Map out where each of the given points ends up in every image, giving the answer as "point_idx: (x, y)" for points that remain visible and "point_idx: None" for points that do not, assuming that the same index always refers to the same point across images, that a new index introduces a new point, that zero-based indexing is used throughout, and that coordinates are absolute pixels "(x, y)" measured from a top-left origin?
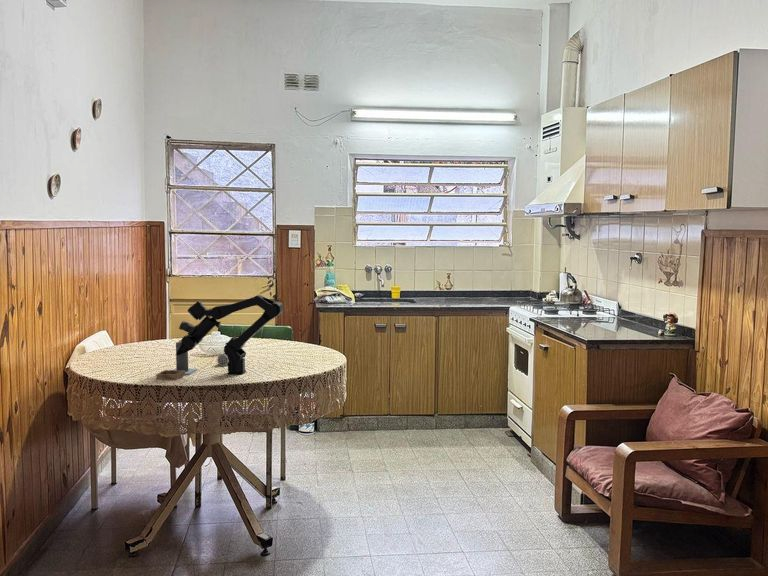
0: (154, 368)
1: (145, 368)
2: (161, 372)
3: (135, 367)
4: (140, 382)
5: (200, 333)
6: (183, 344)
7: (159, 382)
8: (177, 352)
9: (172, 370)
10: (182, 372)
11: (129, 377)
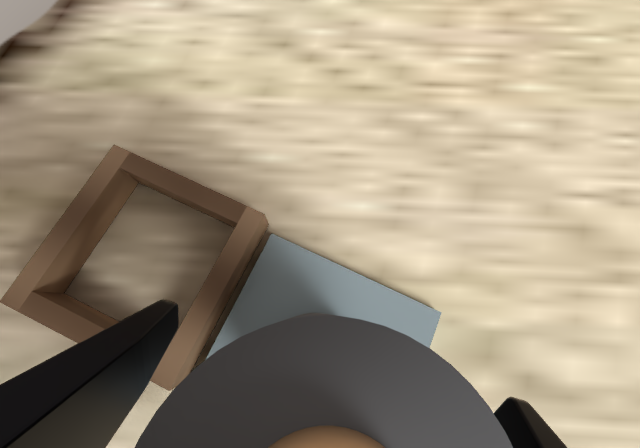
0: (511, 165)
1: (519, 112)
2: (172, 184)
3: (559, 61)
4: (79, 71)
5: None
6: None
7: (13, 176)
8: (119, 332)
9: (221, 273)
10: None
11: (258, 23)
